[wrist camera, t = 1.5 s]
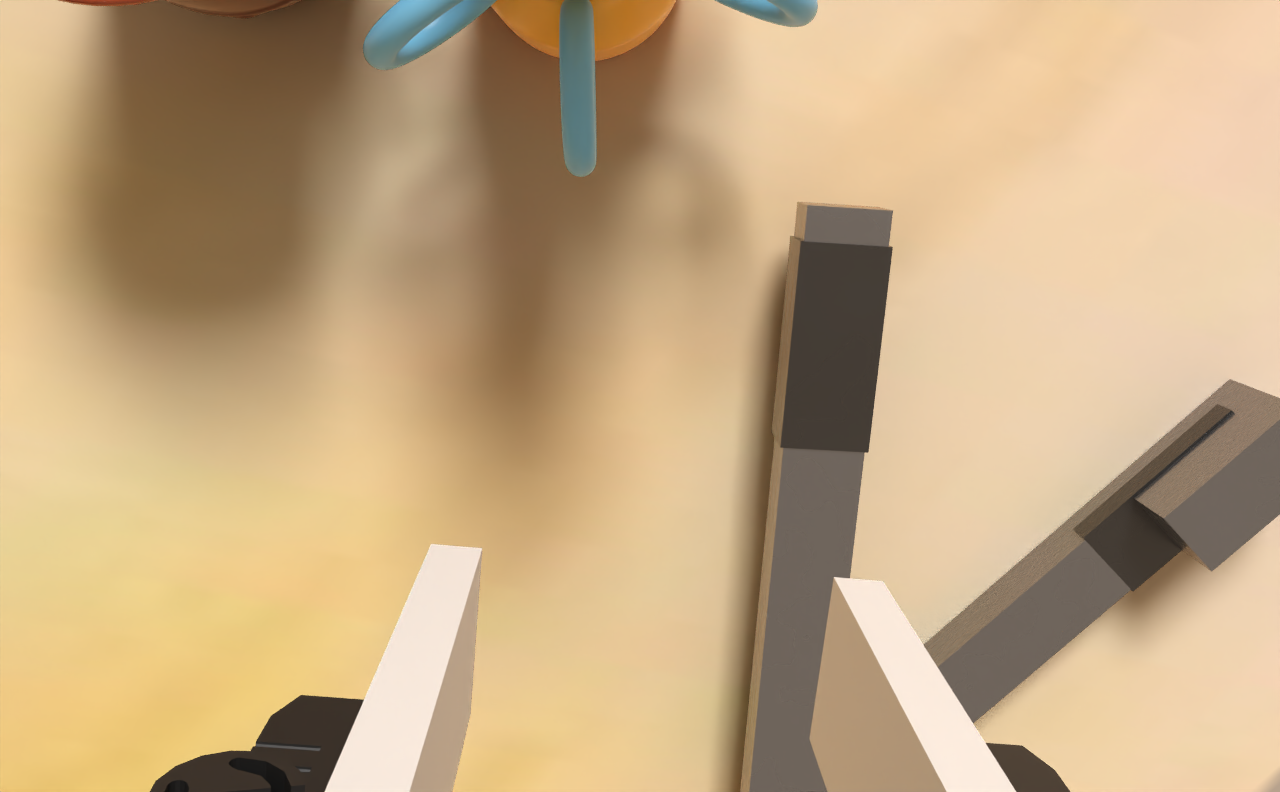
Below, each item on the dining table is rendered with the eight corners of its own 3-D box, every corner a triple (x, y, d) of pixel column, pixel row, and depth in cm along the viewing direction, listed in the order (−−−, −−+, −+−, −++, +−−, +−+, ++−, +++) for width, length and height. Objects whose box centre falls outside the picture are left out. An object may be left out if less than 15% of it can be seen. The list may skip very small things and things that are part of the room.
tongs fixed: (758, 875, 39) (774, 953, 35) (705, 827, 38) (716, 900, 35) (1276, 433, 36) (1354, 467, 32) (1226, 375, 35) (1299, 402, 32)
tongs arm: (812, 810, 36) (822, 842, 35) (735, 807, 36) (741, 839, 35) (881, 207, 32) (897, 211, 30) (793, 201, 32) (804, 205, 30)
